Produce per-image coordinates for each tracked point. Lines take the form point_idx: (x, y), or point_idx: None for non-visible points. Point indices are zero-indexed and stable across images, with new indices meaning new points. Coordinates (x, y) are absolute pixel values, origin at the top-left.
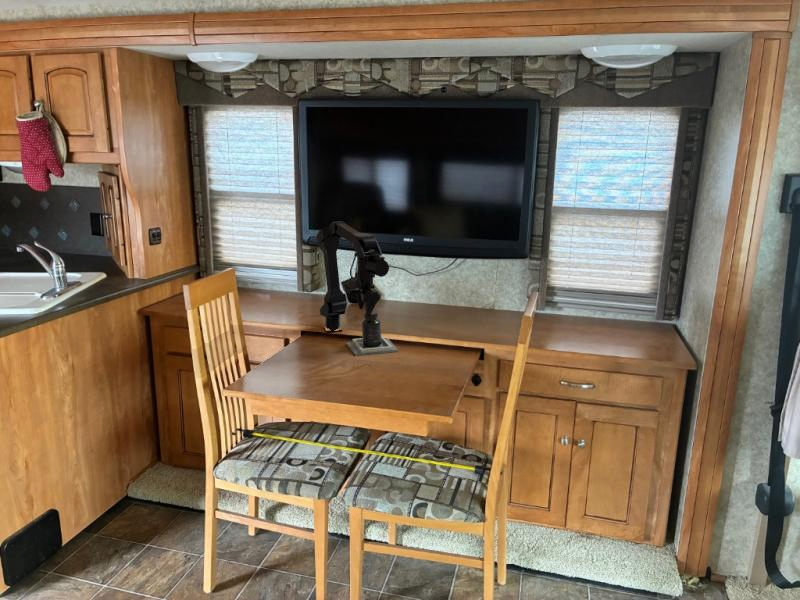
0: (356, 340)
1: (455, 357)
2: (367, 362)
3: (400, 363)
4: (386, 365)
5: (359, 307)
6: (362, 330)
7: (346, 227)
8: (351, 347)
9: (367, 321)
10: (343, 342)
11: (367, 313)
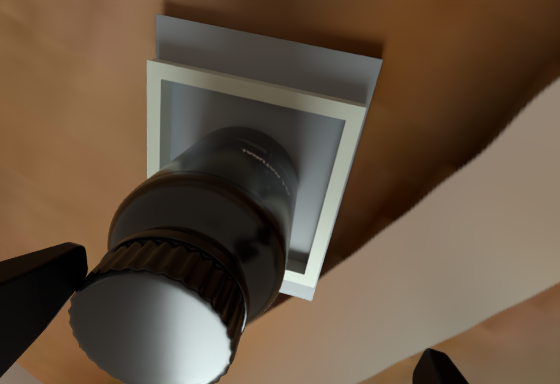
0: (344, 128)
1: (62, 360)
2: (56, 38)
3: (28, 180)
4: (10, 111)
5: (437, 365)
6: (224, 155)
7: None
8: (271, 45)
9: (139, 221)
10: (435, 57)
11: (17, 267)
